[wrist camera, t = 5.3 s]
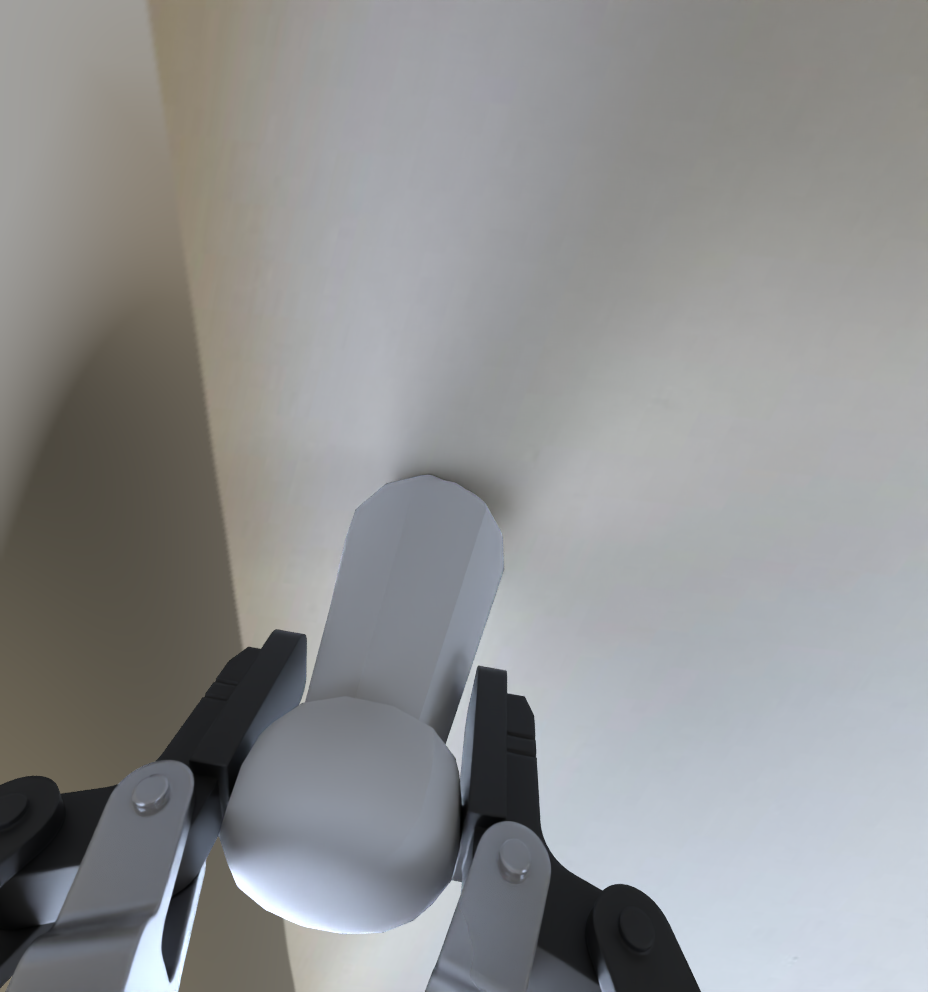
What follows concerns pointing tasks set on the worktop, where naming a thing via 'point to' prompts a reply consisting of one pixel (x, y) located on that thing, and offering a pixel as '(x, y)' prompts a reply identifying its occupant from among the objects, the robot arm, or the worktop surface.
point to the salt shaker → (373, 723)
